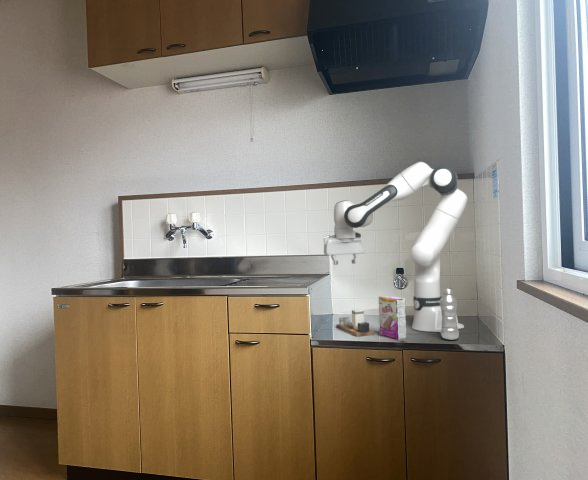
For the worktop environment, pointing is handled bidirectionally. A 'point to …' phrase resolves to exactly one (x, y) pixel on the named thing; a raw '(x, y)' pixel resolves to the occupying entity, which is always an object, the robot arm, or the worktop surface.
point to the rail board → (351, 330)
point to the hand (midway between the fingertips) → (344, 264)
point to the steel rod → (359, 326)
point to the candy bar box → (392, 317)
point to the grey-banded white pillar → (357, 317)
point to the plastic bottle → (449, 315)
